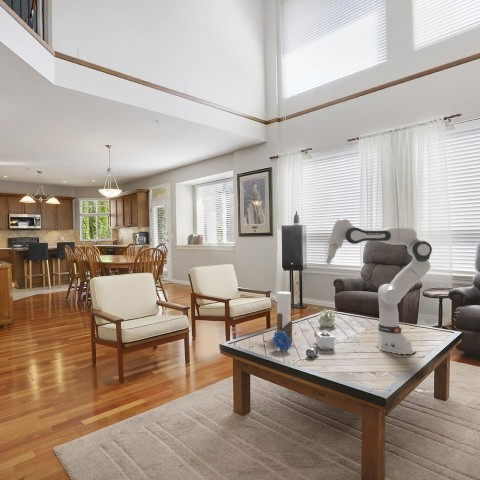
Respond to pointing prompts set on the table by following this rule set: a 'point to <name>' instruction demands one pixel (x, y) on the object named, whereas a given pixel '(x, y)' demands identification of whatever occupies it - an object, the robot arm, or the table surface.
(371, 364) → the table surface
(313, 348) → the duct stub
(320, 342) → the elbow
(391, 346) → the robot arm
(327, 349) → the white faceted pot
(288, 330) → the wooden hammer
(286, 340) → the grapes
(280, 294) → the cylinder container
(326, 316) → the wavy plaster lump
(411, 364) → the table surface
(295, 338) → the table surface
